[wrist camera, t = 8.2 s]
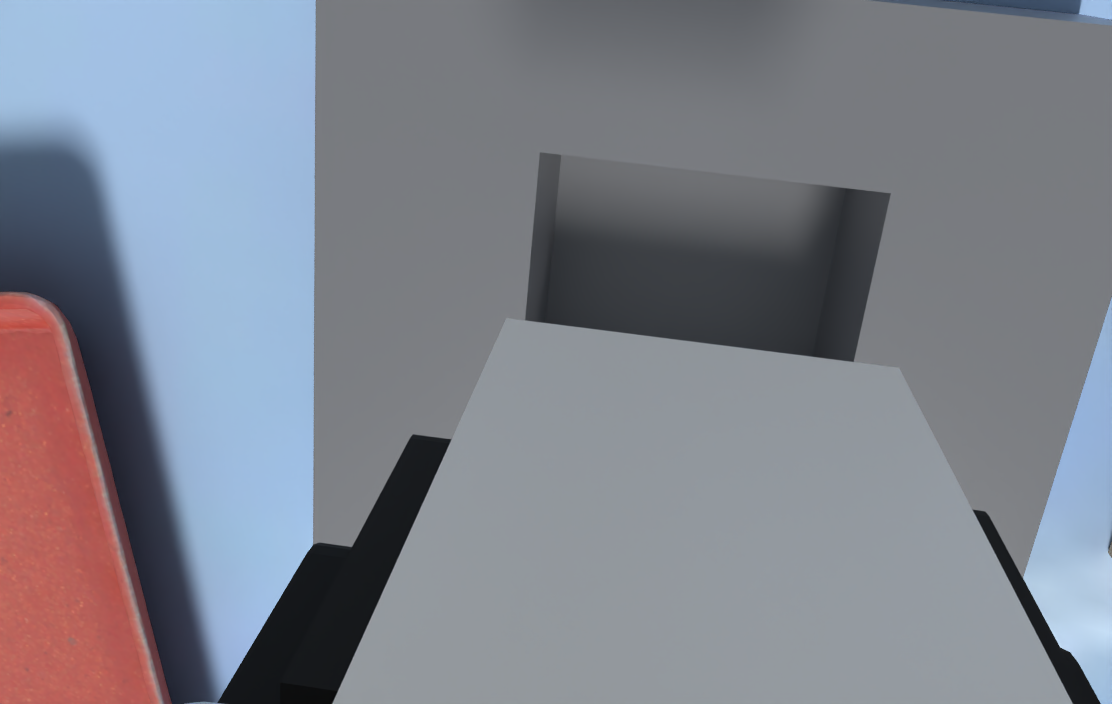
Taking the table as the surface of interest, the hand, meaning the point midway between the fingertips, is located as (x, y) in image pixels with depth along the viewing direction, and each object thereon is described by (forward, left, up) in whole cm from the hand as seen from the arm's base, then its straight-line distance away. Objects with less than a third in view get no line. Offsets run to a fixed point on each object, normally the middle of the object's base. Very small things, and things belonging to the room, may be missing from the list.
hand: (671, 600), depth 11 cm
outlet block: (0, 0, -14) cm, 14 cm away
